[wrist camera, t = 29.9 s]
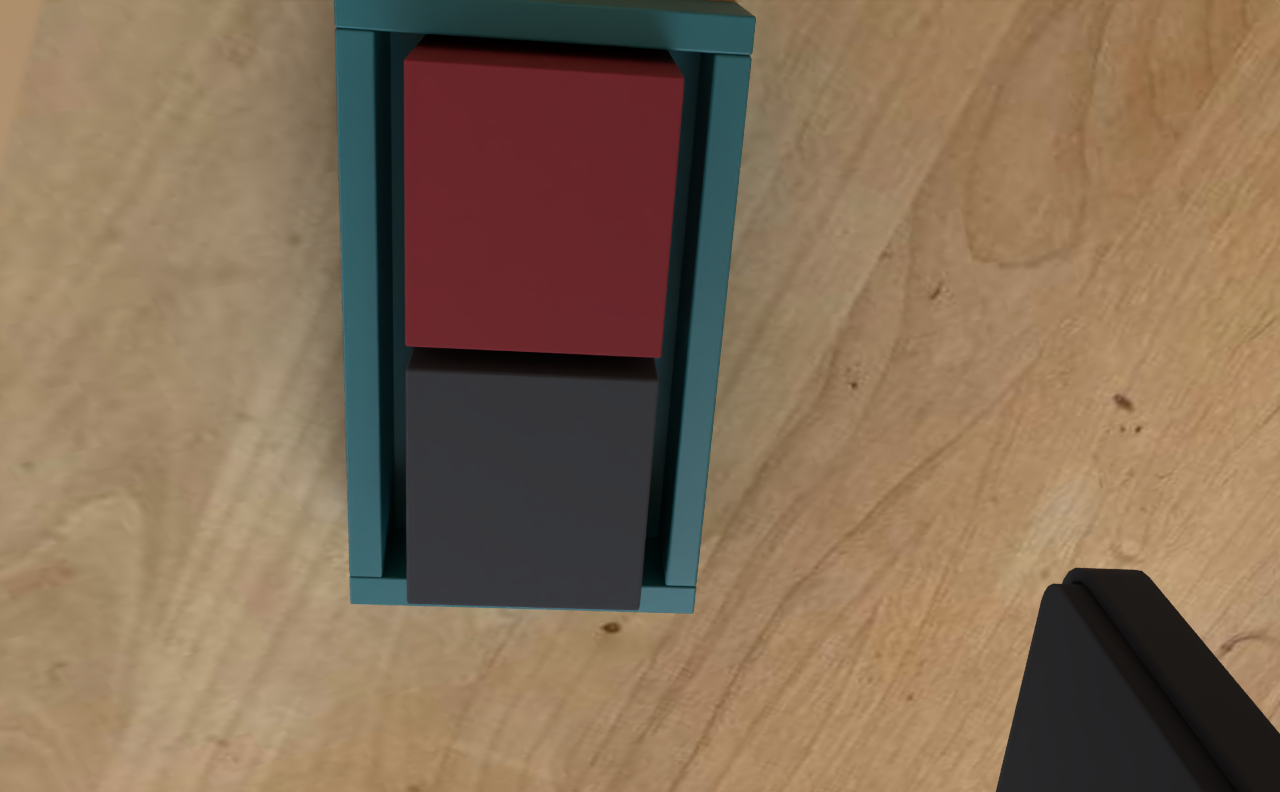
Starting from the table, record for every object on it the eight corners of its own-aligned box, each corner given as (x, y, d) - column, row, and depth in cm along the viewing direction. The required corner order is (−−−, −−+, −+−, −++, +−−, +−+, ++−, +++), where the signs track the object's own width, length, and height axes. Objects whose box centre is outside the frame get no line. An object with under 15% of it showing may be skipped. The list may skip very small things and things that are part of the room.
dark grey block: (424, 307, 30) (405, 368, 26) (648, 318, 30) (659, 379, 26) (424, 521, 32) (406, 605, 28) (631, 528, 32) (640, 612, 29)
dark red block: (425, 33, 27) (403, 58, 23) (669, 49, 27) (685, 77, 24) (424, 288, 29) (405, 346, 26) (649, 299, 30) (661, 359, 26)
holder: (356, -25, 27) (333, -14, 24) (737, 2, 28) (756, 16, 25) (368, 543, 33) (350, 604, 30) (682, 553, 33) (693, 614, 31)
